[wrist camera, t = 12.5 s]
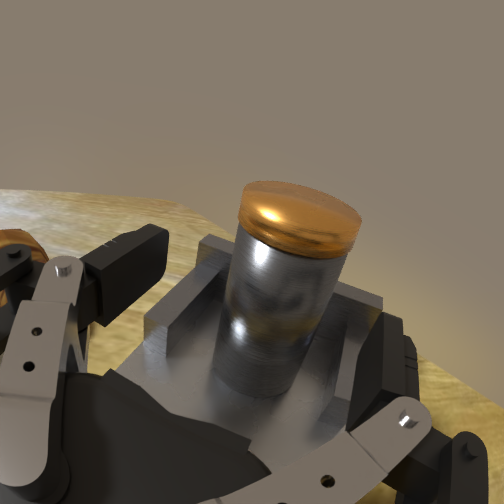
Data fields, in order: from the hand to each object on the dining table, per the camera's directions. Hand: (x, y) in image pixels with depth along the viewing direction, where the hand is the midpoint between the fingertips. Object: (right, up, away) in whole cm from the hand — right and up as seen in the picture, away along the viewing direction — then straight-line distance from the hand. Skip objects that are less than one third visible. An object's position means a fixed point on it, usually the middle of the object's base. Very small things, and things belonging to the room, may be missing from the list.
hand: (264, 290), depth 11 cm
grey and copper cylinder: (0, -5, +7) cm, 9 cm away
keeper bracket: (0, -6, +8) cm, 9 cm away
